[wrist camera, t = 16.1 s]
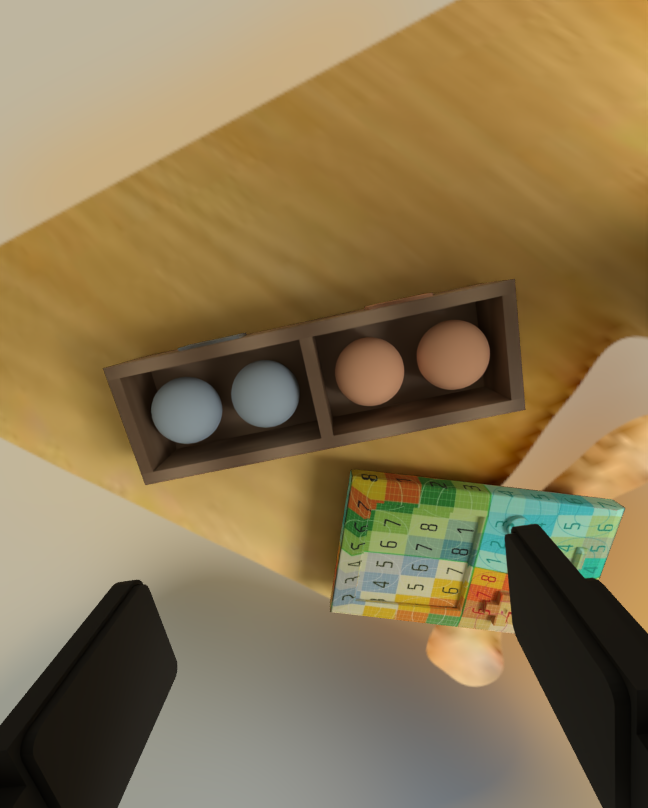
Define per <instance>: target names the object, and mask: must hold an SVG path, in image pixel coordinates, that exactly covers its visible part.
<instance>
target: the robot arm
mask: <svg viewBox="0 0 648 808" xmlns="http://www.w3.org/2000/svg"><path fill="white" fill-rule="evenodd" d="M505 550H506V561H507V572H508V583H509V594H510V605H511V616H512V624H513V628H514V632H515V634H516V637H517V639H518V642H519V644H520V645H521V647H522V649H523V651H524V653H525V655H526V657H527V659H528V661H529V663H530V665H531V667H532V669H533V671H534V673H535V675H536V677H537V679H538V681H539V683H540V685H541V687H542V689H543V691H544V693H545V695H546V697H547V699H548V701H549V703H550V705H551V707H552V709H553V711H554V713H555V714H556V716H557V719H558V720H559V722H560V724H561V726H562V728H563V730H564V732H565V734H566V736H567V738H568V740H569V742H570V744H571V746H572V748H573V750H574V752H575V754H576V756H577V758H578V760H579V762H580V764H581V766H582V768H583V770H584V772H585V774H586V776H587V778H588V780H589V781H590V783H591V786H592V788H593V790H594V791H595V794H596V796H597V797H598V799H599V801H600V803H601V805H602V807H603V808H648V633H647V632H646V631H645V630H644V629H643V628H642V627H641V626H640V624H638V622H637V621H636V620H635V619H634V618H633V617H632V616H631V615H630V613H629V612H628V611H627V610H626V609H625V608H624V607H623V606H622V605H621V603H620V602H619V601H618V600H617V599H616V598H615V597H614V596H613V595H612V593H611V592H610V591H609V590H608V589H607V588H606V587H605V586H604V585H603V584H602V583H601V582H600V581H599V580H597V579H595V578H584V577H583V575H582V574H581V573H580V572H579V571H578V570H577V568H576V567H575V566H574V565H573V564H572V563H571V562H570V560H569V559H568V558H567V557H566V556H565V555H564V553H563V552H562V551H561V550H560V549H559V548H558V546H557V545H556V544H555V543H554V542H553V541H552V539H551V538H550V537H549V536H548V535H547V534H546V532H545V531H544V530H543V529H542V528H541V527H540V526H539V525H538V524H529V525H522V526H515V527H512V529H511V533H510V534H505ZM176 673H177V661H176V658H175V655H174V653H173V650H172V647H171V645H170V642H169V639H168V637H167V634H166V632H165V629H164V626H163V624H162V621H161V619H160V616H159V613H158V611H157V608H156V606H155V603H154V600H153V598H152V595H151V592H150V590H149V588H148V586H146V585H143V583H142V582H141V581H140V580H132V581H124V582H118V583H116V584H114V585H113V586H112V587H111V589H110V590H109V591H108V593H107V594H106V595H105V596H104V597H103V599H102V600H101V601H100V602H99V604H98V605H97V606H96V607H95V609H94V610H93V611H92V612H91V614H90V615H89V616H88V617H87V618H86V620H85V621H84V622H83V623H82V625H81V626H80V627H79V628H78V630H77V631H76V632H75V633H74V635H73V636H72V637H71V638H70V639H69V641H68V642H67V643H66V645H65V646H64V647H63V648H62V649H61V651H60V652H59V653H58V654H57V656H56V657H55V658H54V659H53V661H52V662H51V663H50V664H49V666H48V667H47V668H46V669H45V671H44V672H43V673H42V674H41V675H40V677H39V678H38V679H37V680H36V682H35V683H34V684H33V685H32V687H31V688H30V689H29V690H28V692H27V693H26V694H25V695H24V697H23V698H22V699H21V700H20V701H19V703H18V704H17V705H16V706H15V708H14V709H13V710H12V711H11V713H10V714H9V715H8V716H7V718H6V719H5V720H4V721H3V723H2V724H1V725H0V808H118V805H119V803H120V801H121V799H122V796H123V794H124V792H125V790H126V787H127V785H128V783H129V781H130V778H131V776H132V774H133V772H134V769H135V767H136V765H137V763H138V760H139V758H140V756H141V754H142V751H143V749H144V747H145V745H146V742H147V740H148V738H149V735H150V733H151V731H152V729H153V727H154V725H155V722H156V720H157V718H158V716H159V713H160V711H161V709H162V707H163V704H164V702H165V700H166V698H167V695H168V693H169V691H170V689H171V686H172V684H173V682H174V680H175V677H176Z"/></svg>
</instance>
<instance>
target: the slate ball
mask: <svg viewBox="0 0 648 808" xmlns="http://www.w3.org/2000/svg"><path fill="white" fill-rule="evenodd" d="M231 397H232V403H233V405H234V408H235V410H236V412H237V413H238V414H239V416H240V417H241V418H242V419H243V420H245V421H246V422H248V423H249V424H251V425H254V426H257V427H263V428H268V427H274V426H278V425H280V424H282V423H284V422H285V421H287V420H288V419H289V418H290V417H291V416H292V415H293V413H294V412H295V410H296V408H297V406H298V403H299V397H300V390H299V385H298V382H297V380H296V378H295V376H294V374H293V373H292V372H291V371H290V370H289V369H288V368H287V367H285V366H284V365H282V364H281V363H278V362H276V361H272V360H259V361H255V362H253V363H250V364H248V365H247V366H245V367H244V368H243V369H242V370H241V371H240V372H239V373H238V374H237V376H236V377H235V379H234V382H233V385H232V390H231Z"/></svg>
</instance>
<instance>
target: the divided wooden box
mask: <svg viewBox="0 0 648 808" xmlns="http://www.w3.org/2000/svg"><path fill="white" fill-rule="evenodd" d="M447 320H462V321H466V322H469V323H471V324H473V325H475V326H476V327H477V328H479V329H480V330H481V331H482V332H483V334H484V335H485V337H486V339H487V341H488V344H489V348H490V359H489V363H488V366H487V368H486V370H485V372H484V373H483V375H482V376H481V377H480V378H479V379H478V380H477V381H476V382H474V383H473V384H471V385H470V386H467V387H465V388H462V389H457V390H447V389H442V388H439V387H436V386H434V385H433V384H431V383H430V382H428V381H427V380H426V379H425V378H424V376H423V375H422V374H421V372H420V370H419V367H418V364H417V348H418V345H419V342H420V340H421V339H422V337H423V335H424V334H425V333H426V332H427V331H428V330H429V329H430V328H432V327H433V326H435V325H436V324H438V323H440V322H443V321H447ZM365 337H374V338H379V339H382V340H385V341H387V342H388V343H390V344H391V345H393V346H394V347H395V348H396V350H397V351H398V352H399V354H400V356H401V358H402V361H403V364H404V378H403V382H402V385H401V387H400V389H399V390H398V392H397V393H396V394H395V395H394V396H393V397H392V398H391V399H390V400H388V401H387V402H385V403H382V404H380V405H376V406H363V405H359V404H356V403H354V402H352V401H351V400H349V399H348V398H347V397H346V396H344V394H343V393H342V392H341V390H340V389H339V387H338V384H337V382H336V377H335V367H336V362H337V359H338V357H339V355H340V353H341V352H342V351H343V349H344V348H345V347H346V346H347V345H349V344H350V343H351V342H353V341H355V340H357V339H360V338H365ZM259 360H272V361H276V362H278V363H281V364H282V365H284V366H285V367H287V368H288V369H289V370H290V371H291V372H292V373H293V374H294V376H295V378H296V380H297V382H298V385H299V390H300V397H299V403H298V406H297V408H296V410H295V412H294V413H293V415H292V416H291V417H290V418H289V419H288V420H287V421H285V422H284V423H282V424H280V425H278V426H274V427H268V428H263V427H257V426H254V425H251V424H249V423H248V422H246V421H245V420H243V419H242V418H241V417H240V416H239V414H238V413H237V412H236V410H235V408H234V405H233V403H232V397H231V390H232V385H233V382H234V379H235V377H236V376H237V374H238V373H239V372H240V371H241V370H242V369H243V368H244V367H245V366H247V365H248V364H250V363H253V362H255V361H259ZM103 370H104V373H105V375H106V378H107V381H108V384H109V386H110V389H111V392H112V395H113V397H114V400H115V403H116V406H117V408H118V411H119V414H120V417H121V419H122V422H123V425H124V428H125V430H126V433H127V436H128V439H129V441H130V444H131V447H132V450H133V452H134V455H135V458H136V461H137V463H138V466H139V469H140V472H141V474H142V477H143V480H144V483H145V485H148V484H153V483H158V482H163V481H168V480H173V479H178V478H184V477H189V476H194V475H199V474H204V473H209V472H214V471H219V470H224V469H229V468H234V467H239V466H244V465H249V464H254V463H259V462H264V461H269V460H274V459H279V458H284V457H289V456H294V455H299V454H305V453H310V452H315V451H320V450H325V449H330V448H335V447H340V446H345V445H350V444H355V443H360V442H365V441H370V440H375V439H380V438H385V437H390V436H395V435H400V434H405V433H410V432H415V431H420V430H426V429H431V428H436V427H441V426H446V425H451V424H456V423H461V422H466V421H471V420H476V419H481V418H486V417H491V416H496V415H501V414H506V413H511V412H516V411H521V410H525V399H524V387H523V374H522V362H521V350H520V337H519V325H518V313H517V300H516V288H515V279H510V280H503V281H495V282H488V283H481V284H476V285H472V286H467V287H463V288H458V289H453V290H449V291H444V292H440V293H435V294H433V293H426V294H420V295H415V296H410V297H406V298H401V299H397V300H392V301H388V302H383V303H378V304H374V305H369V306H365V309H362V310H357V311H352V312H348V313H343V314H339V315H334V316H329V317H325V318H320V319H316V320H311V321H306V322H302V323H297V324H293V325H288V326H283V327H279V328H274V329H270V330H265V331H260V332H256V333H251V334H246V332H245V333H241V334H236V335H232V336H227V337H222V338H218V339H213V340H209V341H204V342H199V343H195V344H190V345H187V346H184V347H180V348H178V350H173V351H169V352H164V353H159V354H155V355H150V356H146V357H141V358H137V359H134V360H130V361H127V362H123V363H120V364H116V365H113V366H110V367H106V368H103ZM180 377H194V378H198V379H201V380H203V381H205V382H207V383H208V384H210V385H211V386H212V387H213V388H214V389H215V390H216V392H217V393H218V395H219V397H220V400H221V403H222V417H221V421H220V423H219V425H218V427H217V428H216V430H215V431H214V432H213V433H212V434H211V435H210V436H209V437H207V438H206V439H204V440H202V441H199V442H196V443H190V444H183V443H177V442H174V441H171V440H169V439H168V438H166V437H165V436H163V435H162V434H161V433H160V432H159V431H158V429H157V428H156V426H155V424H154V422H153V419H152V413H151V407H152V402H153V399H154V397H155V395H156V393H157V392H158V390H159V389H160V388H161V387H162V386H163V385H164V384H166V383H167V382H169V381H171V380H173V379H176V378H180Z"/></svg>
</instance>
